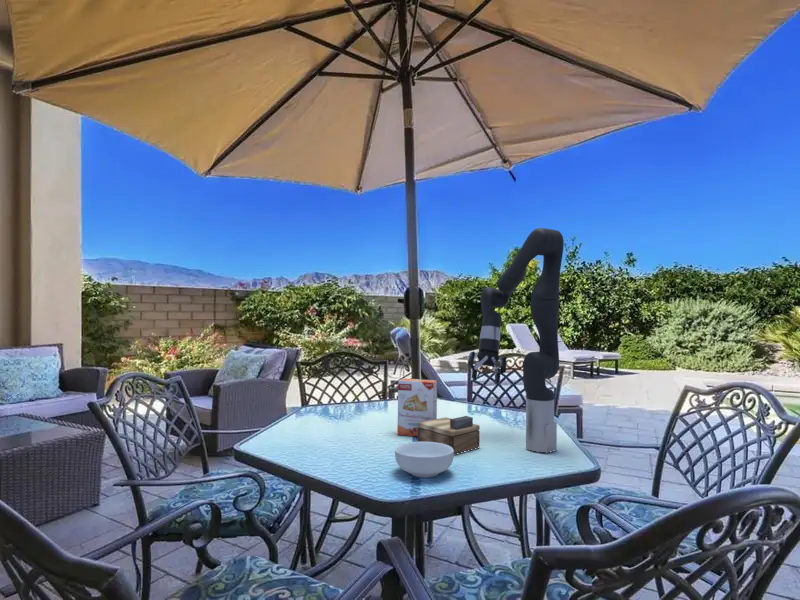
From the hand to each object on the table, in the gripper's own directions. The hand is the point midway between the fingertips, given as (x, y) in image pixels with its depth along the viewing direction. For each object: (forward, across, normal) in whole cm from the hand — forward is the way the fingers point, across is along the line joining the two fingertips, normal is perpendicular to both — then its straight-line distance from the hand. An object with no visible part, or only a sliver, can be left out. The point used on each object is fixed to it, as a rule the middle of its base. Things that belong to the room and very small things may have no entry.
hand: (485, 382), depth 176 cm
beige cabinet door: (+18, -14, -7) cm, 24 cm away
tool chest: (+24, -13, -6) cm, 28 cm away
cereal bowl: (+31, -27, -30) cm, 51 cm away
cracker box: (+23, -21, +10) cm, 33 cm away
